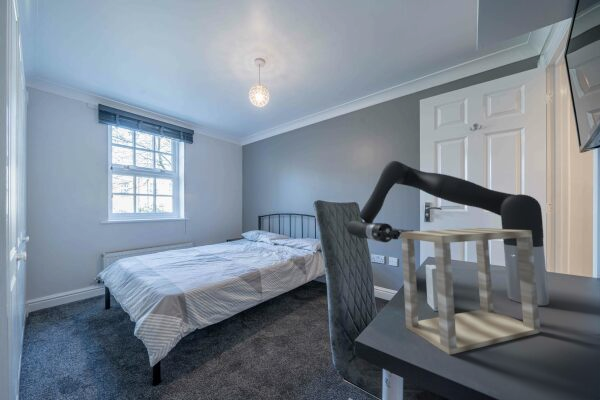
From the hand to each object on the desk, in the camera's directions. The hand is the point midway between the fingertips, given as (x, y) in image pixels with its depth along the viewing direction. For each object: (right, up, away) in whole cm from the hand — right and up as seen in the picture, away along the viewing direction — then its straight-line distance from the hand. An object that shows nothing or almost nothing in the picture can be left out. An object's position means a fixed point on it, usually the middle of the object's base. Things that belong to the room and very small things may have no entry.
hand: (407, 235), depth 81 cm
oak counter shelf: (+4, -19, -25) cm, 32 cm away
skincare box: (+4, -20, -12) cm, 23 cm away
